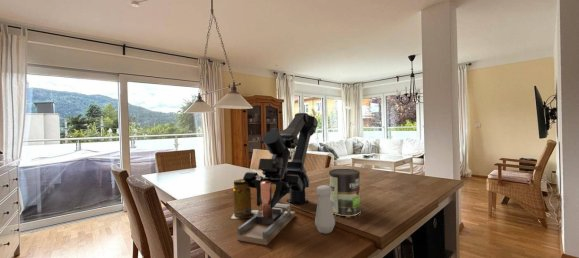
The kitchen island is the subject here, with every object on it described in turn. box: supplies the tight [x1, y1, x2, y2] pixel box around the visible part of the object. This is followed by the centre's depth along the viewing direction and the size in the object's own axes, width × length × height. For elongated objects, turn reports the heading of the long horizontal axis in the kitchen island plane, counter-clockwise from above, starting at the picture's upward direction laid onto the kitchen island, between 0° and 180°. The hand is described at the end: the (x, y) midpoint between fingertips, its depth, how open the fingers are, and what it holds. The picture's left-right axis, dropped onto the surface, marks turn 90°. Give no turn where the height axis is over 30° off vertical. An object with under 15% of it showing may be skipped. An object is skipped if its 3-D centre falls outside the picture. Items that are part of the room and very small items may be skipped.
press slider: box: [256, 181, 282, 225], centre depth 77 cm, size 6×6×12 cm
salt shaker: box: [314, 184, 336, 234], centre depth 73 cm, size 6×6×13 cm
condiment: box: [230, 178, 260, 220], centre depth 88 cm, size 7×8×12 cm
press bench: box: [236, 202, 296, 246], centre depth 77 cm, size 21×9×4 cm, turn 157°
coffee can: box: [328, 168, 361, 216], centre depth 87 cm, size 10×10×14 cm
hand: (264, 206), depth 75 cm, fingers open, 4 cm apart
